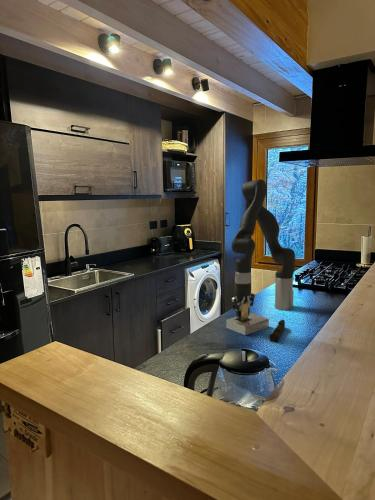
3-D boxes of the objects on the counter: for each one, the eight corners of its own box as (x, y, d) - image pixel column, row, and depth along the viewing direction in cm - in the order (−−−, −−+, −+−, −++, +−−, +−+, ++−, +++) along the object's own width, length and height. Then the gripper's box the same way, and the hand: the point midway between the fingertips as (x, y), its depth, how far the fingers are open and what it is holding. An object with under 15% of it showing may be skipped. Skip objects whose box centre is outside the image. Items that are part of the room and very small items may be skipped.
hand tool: (278, 343, 145) (278, 333, 145) (268, 341, 147) (269, 331, 147) (289, 329, 162) (289, 319, 161) (280, 327, 164) (281, 318, 163)
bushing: (242, 319, 166) (242, 300, 165) (250, 321, 163) (250, 303, 161) (235, 321, 164) (235, 302, 162) (243, 324, 160) (243, 305, 159)
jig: (249, 320, 173) (249, 312, 173) (268, 326, 164) (268, 318, 163) (226, 327, 164) (226, 319, 163) (245, 335, 154) (245, 326, 154)
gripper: (247, 277, 168) (247, 311, 170) (226, 282, 159) (226, 318, 162) (259, 280, 162) (259, 315, 164) (237, 285, 153) (237, 322, 156)
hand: (242, 316), depth 163 cm, fingers closed on bushing, 4 cm apart
